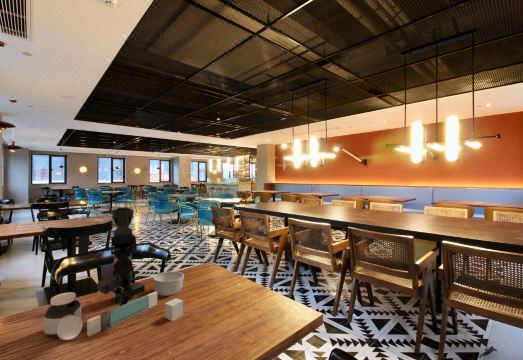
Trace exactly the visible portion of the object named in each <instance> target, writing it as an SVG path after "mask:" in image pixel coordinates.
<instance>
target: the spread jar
mask: <svg viewBox="0 0 523 360" xmlns="http://www.w3.org/2000/svg"><path fill="white" fill-rule="evenodd" d="M43 330H44V334H45V335H47V336H49V337H52V338H59V339H60V340H63V341H70V340H73V339H75V338H76V337H77V336H78V335H79V334H80V333H81V331H82V330H83V320H82V303H81V301H80V300H78V298H77V293H76V292H70V291H69V292H63V293H59V294H56V295H54V296H52V297H51V298H50V305H49V307H48V308H47V309H46V311H45V313H44V315H43Z"/></svg>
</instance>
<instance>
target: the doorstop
mask: <svg viewBox="0 0 523 360" xmlns="http://www.w3.org/2000/svg"><path fill="white" fill-rule="evenodd" d="M182 316H184V300H183V299H180V298H177V297H176V298H173V299H170V300H169V301H167V302H165V303H164V318H165V319H167V320H168V321H171V322H173V321H175V320H177V319H178V318H180V317H182Z"/></svg>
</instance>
